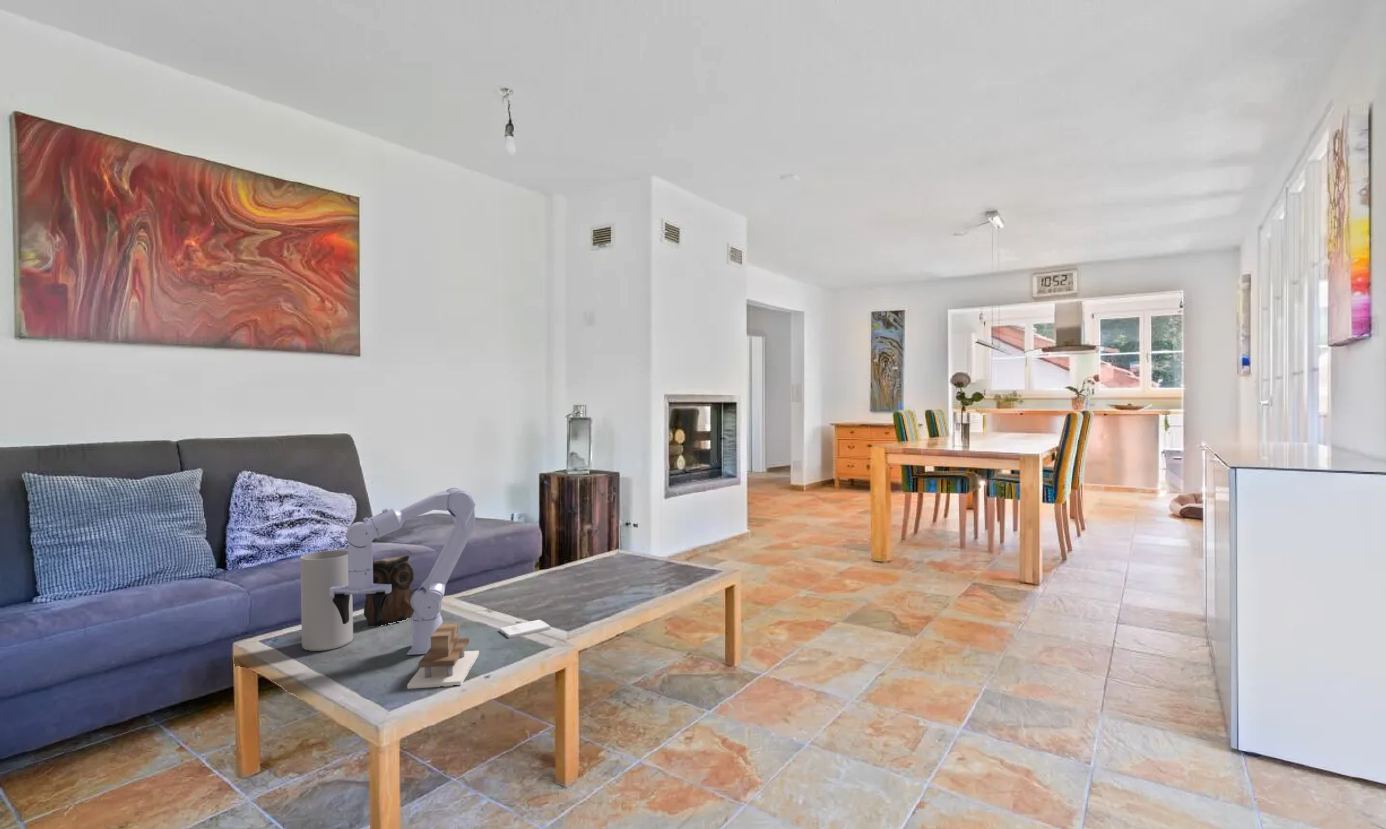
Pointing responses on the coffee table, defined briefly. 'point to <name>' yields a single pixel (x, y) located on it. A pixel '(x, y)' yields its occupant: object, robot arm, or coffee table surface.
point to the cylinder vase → (324, 600)
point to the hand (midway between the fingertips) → (361, 622)
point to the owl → (400, 596)
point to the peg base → (444, 673)
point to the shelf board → (444, 659)
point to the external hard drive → (524, 628)
